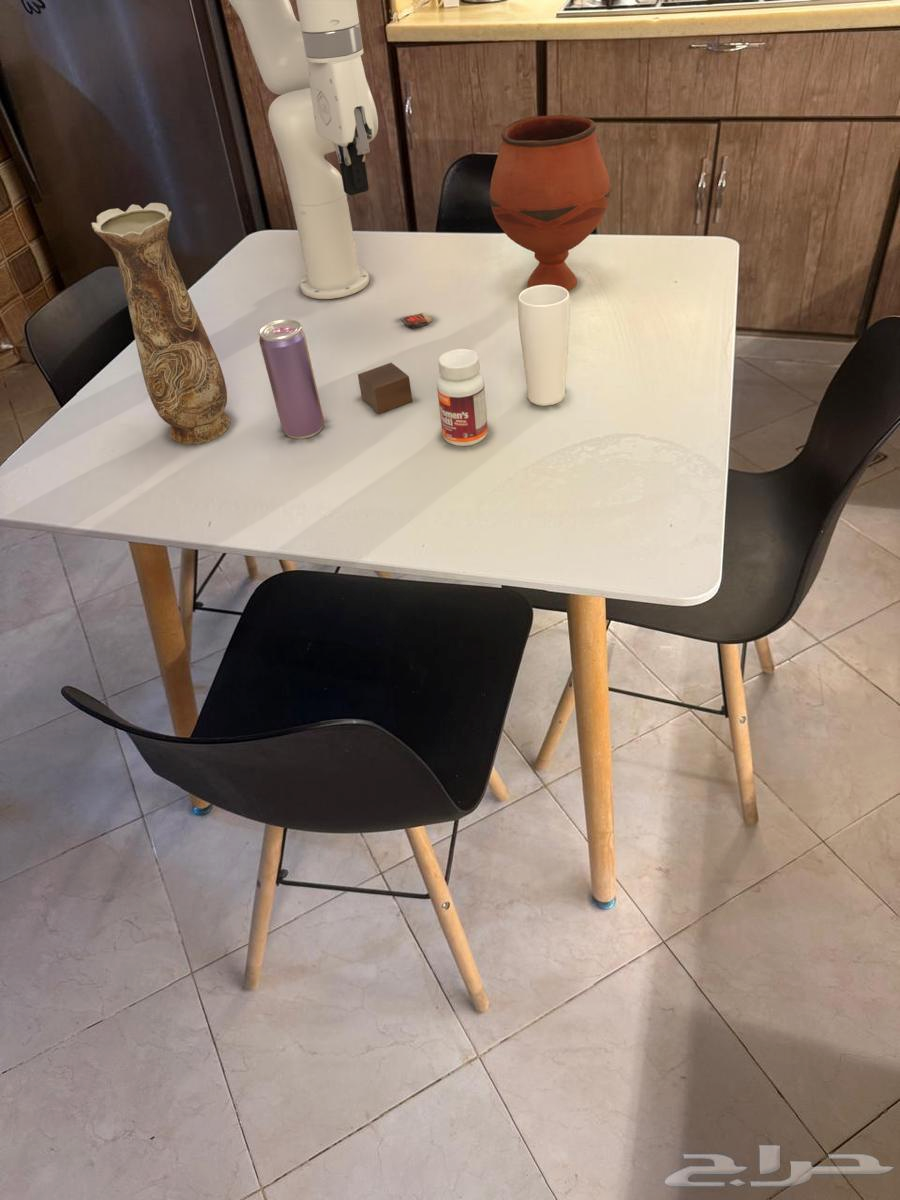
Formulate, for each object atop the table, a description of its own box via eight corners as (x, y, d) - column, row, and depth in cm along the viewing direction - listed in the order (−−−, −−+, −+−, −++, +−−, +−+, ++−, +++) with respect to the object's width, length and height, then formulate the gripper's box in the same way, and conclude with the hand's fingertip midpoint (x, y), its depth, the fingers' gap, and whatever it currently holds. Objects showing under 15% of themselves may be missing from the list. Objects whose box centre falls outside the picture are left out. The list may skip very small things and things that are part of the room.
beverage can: (317, 441, 120) (294, 339, 110) (277, 440, 121) (250, 339, 111) (330, 418, 124) (308, 318, 114) (291, 417, 125) (266, 318, 115)
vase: (229, 403, 130) (166, 193, 110) (243, 436, 123) (178, 218, 103) (160, 421, 128) (83, 211, 108) (170, 456, 121) (89, 237, 100)
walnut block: (362, 399, 127) (357, 374, 125) (394, 386, 129) (391, 362, 126) (378, 414, 124) (374, 389, 121) (412, 401, 125) (409, 376, 123)
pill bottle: (435, 443, 116) (425, 366, 109) (454, 420, 120) (446, 344, 113) (477, 450, 114) (470, 372, 107) (495, 426, 118) (489, 349, 111)
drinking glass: (574, 387, 124) (574, 284, 114) (565, 411, 119) (565, 306, 109) (527, 384, 126) (523, 283, 116) (517, 409, 121) (512, 305, 111)
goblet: (495, 267, 158) (486, 115, 142) (602, 258, 157) (605, 103, 140) (495, 312, 144) (485, 150, 128) (612, 303, 143) (617, 137, 126)
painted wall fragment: (412, 330, 142) (412, 327, 142) (396, 320, 145) (396, 318, 145) (436, 321, 144) (436, 318, 143) (420, 312, 147) (420, 309, 147)
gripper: (284, 42, 117) (312, 186, 129) (331, 56, 107) (356, 211, 119) (334, 31, 119) (357, 174, 131) (384, 44, 109) (404, 197, 121)
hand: (356, 191), depth 125 cm, fingers closed
